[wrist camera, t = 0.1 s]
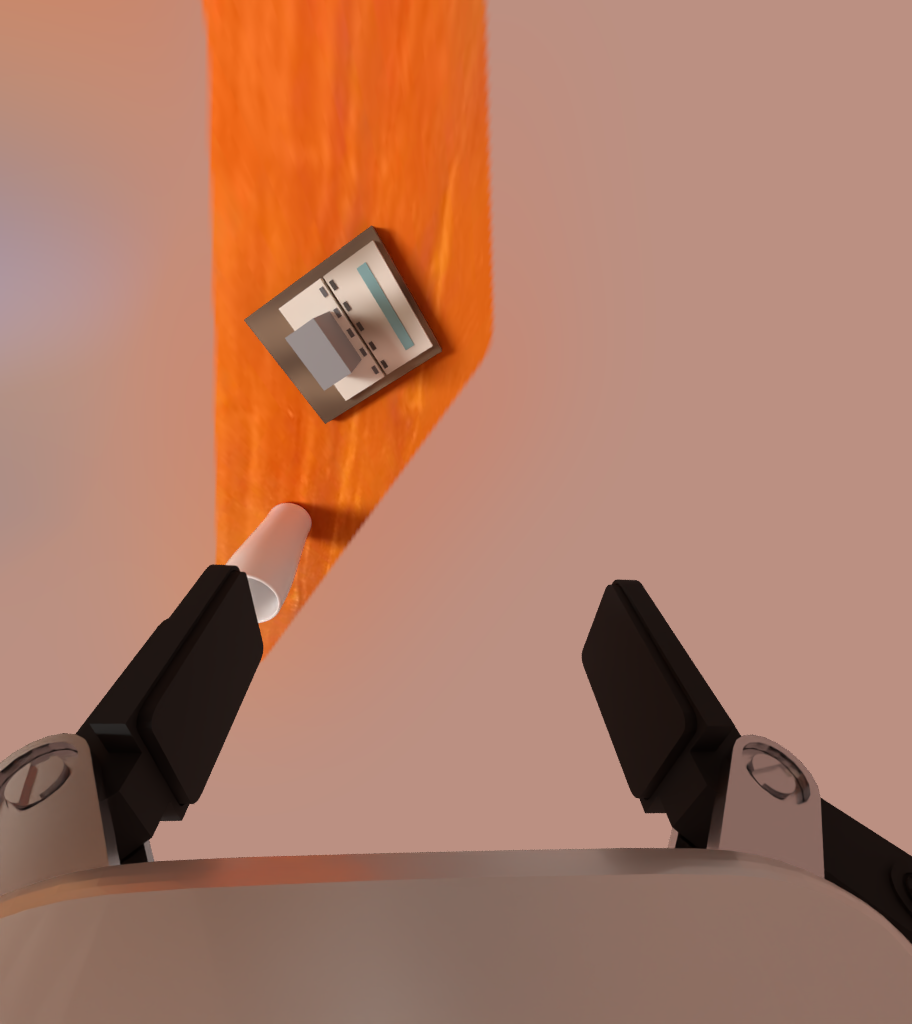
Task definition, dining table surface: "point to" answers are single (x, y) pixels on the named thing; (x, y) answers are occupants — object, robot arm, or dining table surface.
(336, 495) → the dining table surface
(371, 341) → the board
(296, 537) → the drinking glass
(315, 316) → the stub
